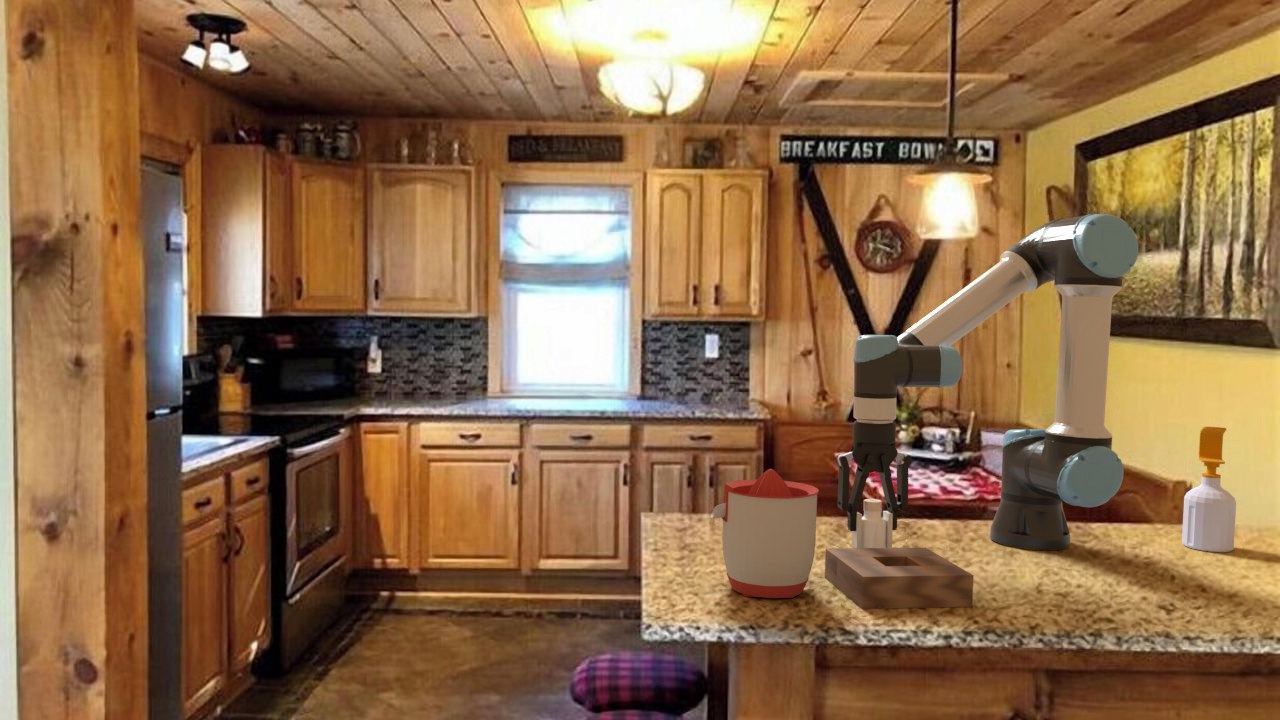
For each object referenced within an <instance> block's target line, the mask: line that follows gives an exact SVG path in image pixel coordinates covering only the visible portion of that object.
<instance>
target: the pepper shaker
mask: <svg viewBox="0 0 1280 720" xmlns="http://www.w3.org/2000/svg"><path fill="white" fill-rule="evenodd" d="M882 509H883V501H882V500H881V499H878V498H867V499H863V515H862V530H861V548H886V527H887V521H886V520H885V519H884V518H883V516H882V512H883V510H882Z"/></svg>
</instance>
